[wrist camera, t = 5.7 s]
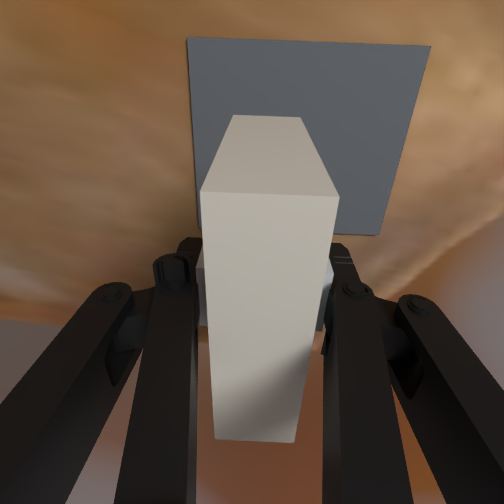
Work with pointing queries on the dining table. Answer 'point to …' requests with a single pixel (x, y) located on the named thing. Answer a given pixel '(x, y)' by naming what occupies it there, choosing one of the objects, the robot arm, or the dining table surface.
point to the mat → (314, 108)
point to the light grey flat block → (264, 272)
